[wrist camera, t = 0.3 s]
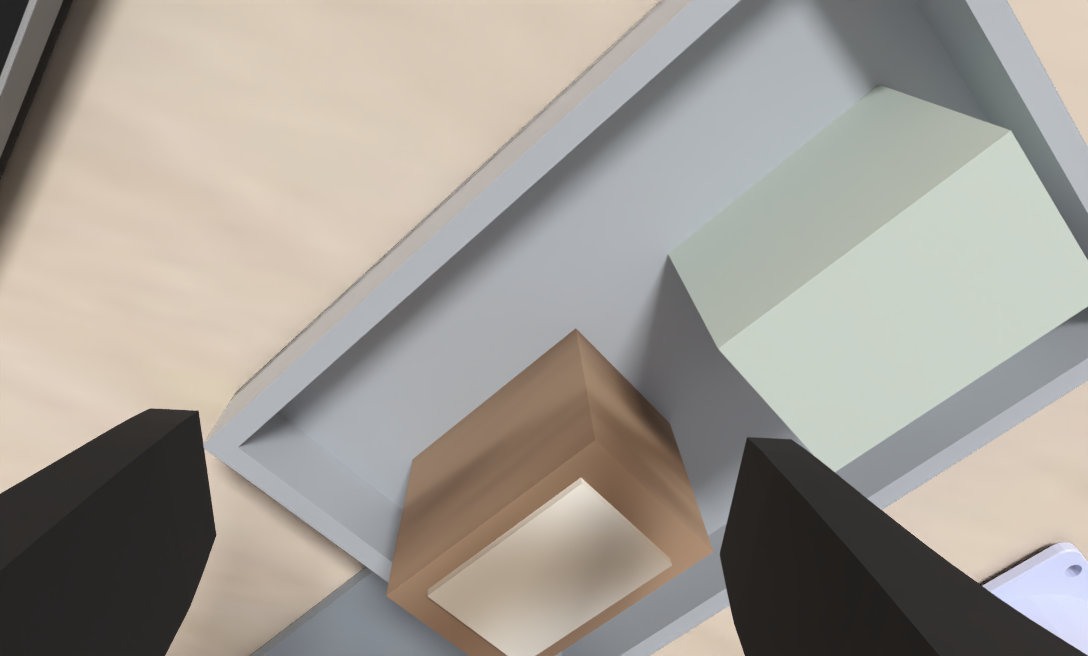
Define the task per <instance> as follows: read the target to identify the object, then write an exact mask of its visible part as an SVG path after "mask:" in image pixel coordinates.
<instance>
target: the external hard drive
mask: <svg viewBox="0 0 1088 656" xmlns="http://www.w3.org/2000/svg"><path fill="white" fill-rule="evenodd" d="M71 3H72V0H0V179H1V176H2V174H3V171H4V169H5V166H6V164H7V161H8V159H9V156H10V154H11V151H12V149H13V147H14V144H15V142H16V139H17V137H18V134H19V132H20V129H21V127H22V124H23V122H24V119H25V117H26V114H27V112H28V109H29V107H30V104H31V102H32V99H33V97H34V95H35V92H36V90H37V87H38V85H39V82H40V80H41V77H42V75H43V72H44V70H45V67H46V65H47V62H48V60H49V57H50V55H51V52H52V50H53V47H54V45H55V42H56V40H57V38H58V35H59V33H60V30H61V28H62V25H63V23H64V20H65V18H66V15H67V13H68V10H69V8H70V5H71Z"/></svg>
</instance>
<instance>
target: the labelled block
mask: <svg viewBox="0 0 1088 656" xmlns="http://www.w3.org/2000/svg"><path fill="white" fill-rule="evenodd" d="M711 553H713V549H712V546H711V543H710V540H709V537H708V534H707V531H706V528H705V525H704V522H703V519H702V516H701V513H700V510H699V507H698V504H697V502H696V499H695V496H694V493H693V490H692V487H691V484H690V481H689V478H688V475H687V472H686V469H685V466H684V463H683V460H682V457H681V454H680V452H679V449H678V446H677V443H676V440H675V437H674V434H673V431H672V428H671V425H670V423H669V422H668V421H667V420H666V419H665V418H664V417H663V416H662V415H661V414H660V413H659V412H658V411H657V410H656V409H655V408H654V407H653V406H652V405H651V404H650V403H649V402H648V401H647V400H646V399H645V398H644V397H643V396H642V395H641V394H640V393H639V392H638V391H637V390H636V389H635V387H634V386H633V385H632V384H631V383H630V382H629V381H628V380H627V379H626V378H625V377H624V376H623V375H622V374H621V373H620V372H619V371H618V370H617V369H616V368H615V367H614V366H613V365H612V364H611V363H610V362H609V361H608V360H607V359H606V358H605V357H604V356H603V355H602V354H601V353H600V352H599V351H598V350H597V349H596V348H595V347H594V346H593V345H592V344H591V343H590V342H589V341H588V340H587V339H586V338H585V337H584V336H583V335H582V334H581V333H580V332H579V331H578V330H577V329H576V328H575V329H574V330H573V331H572V332H570V333H569V334H568V335H567V336H565V337H564V338H563V339H562V340H560V341H559V342H558V343H557V344H555V345H554V346H553V347H552V348H550V349H549V350H548V351H547V352H545V353H544V354H543V355H542V356H540V357H539V358H538V359H537V360H536V361H534V362H533V363H532V364H531V365H529V366H528V367H527V368H526V369H524V370H523V371H522V372H521V373H519V374H518V375H517V376H516V377H514V378H513V379H512V380H511V381H509V382H508V383H507V384H506V385H504V386H503V387H502V388H501V389H499V390H498V391H497V392H496V393H494V394H493V395H492V396H491V397H489V398H488V399H487V400H486V401H485V402H483V403H482V404H481V405H480V406H478V407H477V408H476V409H475V410H473V411H472V412H471V413H470V414H468V415H467V416H466V417H465V418H463V419H462V420H461V421H460V422H458V423H457V424H456V425H455V426H453V427H452V428H451V429H450V430H448V431H447V432H446V433H445V434H443V435H442V436H441V437H440V438H438V439H437V440H436V441H435V442H434V443H432V444H431V445H430V446H429V447H427V448H426V449H425V450H424V451H422V452H421V453H420V454H419V455H417V456H416V457H415V458H414V459H413V460H412V465H411V471H410V476H409V481H408V486H407V491H406V496H405V501H404V506H403V511H402V516H401V522H400V527H399V532H398V537H397V542H396V547H395V552H394V557H393V562H392V567H391V573H390V578H389V583H388V588H387V593H386V596H387V597H388V598H390V599H391V600H392V601H394V602H395V603H397V604H398V605H399V606H401V607H402V608H403V609H405V610H406V611H408V612H409V613H410V614H412V615H413V616H415V617H416V618H417V619H419V620H420V621H422V622H423V623H424V624H426V625H427V626H428V627H430V628H431V629H433V630H434V631H435V632H437V633H438V634H440V635H441V636H442V637H444V638H445V639H447V640H448V641H449V642H451V643H452V644H453V645H455V646H456V647H458V648H459V649H460V650H462V651H463V652H465V653H466V654H467V655H469V656H556V655H557V654H559V653H560V652H562V651H563V650H565V649H566V648H568V647H569V646H571V645H572V644H574V643H575V642H577V641H578V640H580V639H582V638H583V637H585V636H586V635H588V634H589V633H591V632H592V631H594V630H595V629H597V628H598V627H600V626H601V625H603V624H604V623H606V622H607V621H609V620H610V619H612V618H614V617H615V616H617V615H618V614H620V613H621V612H623V611H624V610H626V609H627V608H629V607H630V606H632V605H633V604H635V603H636V602H638V601H639V600H641V599H642V598H644V597H646V596H647V595H649V594H650V593H652V592H653V591H655V590H656V589H658V588H659V587H661V586H662V585H664V584H665V583H667V582H668V581H670V580H671V579H673V578H675V577H676V576H678V575H679V574H681V573H682V572H684V571H685V570H687V569H688V568H690V567H691V566H693V565H694V564H696V563H697V562H699V561H700V560H702V559H703V558H705V557H707V556H708V555H710V554H711Z"/></svg>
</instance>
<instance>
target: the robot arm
mask: <svg viewBox="0 0 1088 656" xmlns="http://www.w3.org/2000/svg"><path fill="white" fill-rule="evenodd" d="M215 537H216V530H215V523H214V516H213V509H212V502H211V495H210V488H209V481H208V474H207V467H206V460H205V453H204V446H203V439H202V432H201V425H200V418H199V411H190V410H169V409H148V410H146V411H144V412H142V413H140V414H138V415H136V416H134V417H132V418H130V419H128V420H126V421H125V422H123V423H121V424H119V425H117V426H116V427H114V428H112V429H110V430H109V431H107V432H105V433H104V434H102V435H100V436H98V437H97V438H95V439H93V440H92V441H90V442H88V443H86V444H85V445H83V446H81V447H80V448H78V449H76V450H75V451H73V452H71V453H69V454H68V455H66V456H64V457H63V458H61V459H59V460H58V461H56V462H54V463H52V464H51V465H49V466H47V467H46V468H44V469H42V470H40V471H39V472H37V473H35V474H34V475H32V476H30V477H28V478H27V479H25V480H23V481H22V482H20V483H18V484H16V485H15V486H13V487H11V488H9V489H8V490H6V491H4V492H3V493H1V494H0V656H165V655H166V653H167V651H168V649H169V647H170V645H171V643H172V641H173V639H174V637H175V635H176V633H177V631H178V629H179V628H180V626H181V624H182V622H183V620H184V618H185V616H186V614H187V612H188V610H189V608H190V606H191V603H192V600H193V598H194V595H195V593H196V590H197V587H198V585H199V582H200V580H201V577H202V574H203V571H204V569H205V566H206V563H207V560H208V557H209V554H210V552H211V549H212V546H213V543H214V540H215ZM720 559H721V564H722V569H723V574H724V579H725V584H726V589H727V594H728V599H729V603H730V607H731V612H732V616H733V620H734V624H735V627H736V630H737V633H738V636H739V639H740V642H741V645H742V648H743V651H744V654H745V656H1088V562H1087V560H1086V559H1085V558H1084V556H1083V555H1082V554H1081V552H1080V551H1079V550H1078V549H1077V548H1076V547H1075V546H1074V545H1072V544H1071V543H1067V542H1062V543H1057V544H1054V545H1052V546H1050V547H1049V548H1047V549H1045V550H1043V551H1042V552H1040V553H1038V554H1036V555H1035V556H1033V557H1031V558H1029V559H1028V560H1026V561H1024V562H1022V563H1021V564H1019V565H1017V566H1015V567H1014V568H1012V569H1010V570H1008V571H1007V572H1005V573H1003V574H1001V575H1000V576H998V577H996V578H994V579H993V580H991V581H989V582H987V583H986V584H984V585H982V586H981V585H980V584H979V583H977V582H976V581H974V580H973V579H972V578H970V577H969V576H967V575H966V574H965V573H963V572H962V571H960V570H959V569H958V568H956V567H955V566H953V565H952V564H951V563H949V562H948V561H947V560H945V559H944V558H943V557H941V556H940V555H939V554H937V553H936V552H935V551H933V550H932V549H931V548H929V547H928V546H927V545H925V544H924V543H923V542H921V541H920V540H919V539H918V538H916V537H915V536H914V535H912V534H911V533H910V532H909V531H907V530H906V529H905V528H903V527H902V526H901V525H900V524H898V523H897V522H896V521H895V520H893V519H892V518H891V517H889V516H888V515H887V514H886V513H884V512H883V511H882V510H881V509H880V508H878V507H877V506H876V505H875V504H873V503H872V502H871V501H870V500H868V499H867V498H866V497H865V496H863V495H862V494H861V493H860V492H858V491H857V490H856V489H855V488H854V487H852V486H851V485H850V484H849V483H847V482H846V481H845V480H844V479H842V478H841V477H840V476H839V475H838V474H836V473H835V472H834V471H833V470H831V469H830V468H829V467H828V466H826V465H825V464H824V463H823V462H821V461H820V460H819V459H818V458H816V457H815V456H814V455H812V454H811V453H810V452H808V451H807V450H806V449H804V448H803V447H802V446H800V445H799V444H798V443H796V442H795V441H793V440H792V439H778V438H757V437H747V439H746V443H745V447H744V452H743V456H742V460H741V464H740V469H739V473H738V477H737V482H736V486H735V490H734V494H733V499H732V503H731V507H730V511H729V516H728V520H727V524H726V528H725V533H724V537H723V541H722V545H721V550H720Z"/></svg>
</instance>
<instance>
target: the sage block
mask: <svg viewBox="0 0 1088 656" xmlns="http://www.w3.org/2000/svg"><path fill="white" fill-rule="evenodd" d="M668 255H669V257H670V259H671V261H672V262H673V264H674V266H675V268H676V270H677V272H678V274H679V276H680V278H681V279H682V281H683V283H684V285H685V287H686V289H687V291H688V293H689V295H690V297H691V298H692V300H693V302H694V304H695V306H696V308H697V310H698V312H699V314H700V315H701V317H702V319H703V321H704V323H705V325H706V327H707V329H708V331H709V333H710V334H711V336H712V338H713V340H714V342H715V344H716V346H717V348H718V349H719V350H720V351H721V353H722V354H723V355H724V356H725V357H726V358H727V359H728V360H729V361H730V363H731V364H732V365H733V366H734V367H735V368H736V369H737V370H738V371H739V373H740V374H741V375H742V376H743V377H744V378H745V379H746V380H747V382H748V383H749V384H750V385H751V386H752V387H753V388H754V389H755V390H756V392H757V393H758V394H759V395H760V396H761V397H762V398H763V399H764V400H765V402H766V403H767V404H768V405H769V406H770V407H771V408H772V409H773V410H774V412H775V413H776V414H777V415H778V416H779V417H780V418H781V419H782V420H783V422H784V423H785V424H786V425H787V426H788V427H789V428H790V429H791V430H792V432H793V433H794V434H795V435H796V436H797V437H798V438H799V439H800V441H801V442H802V443H803V444H804V445H805V446H806V447H807V448H808V449H809V451H810V452H811V453H812V454H813V455H814V456H815V457H816V458H818V459H819V460H820V461H821V462H823V463H824V464H825V465H826V466H828V467H829V468H830V469H831V470H833V471H834V472H836V471H838V470H839V469H841V468H842V467H844V466H845V465H847V464H848V463H850V462H851V461H853V460H854V459H856V458H857V457H859V456H861V455H862V454H864V453H865V452H867V451H868V450H870V449H871V448H873V447H874V446H876V445H877V444H879V443H880V442H882V441H883V440H885V439H886V438H888V437H889V436H891V435H893V434H894V433H896V432H897V431H899V430H900V429H902V428H903V427H905V426H906V425H908V424H909V423H911V422H912V421H914V420H915V419H917V418H918V417H920V416H921V415H923V414H925V413H926V412H928V411H929V410H931V409H932V408H934V407H935V406H937V405H938V404H940V403H941V402H943V401H944V400H946V399H947V398H949V397H950V396H952V395H954V394H955V393H957V392H958V391H960V390H961V389H963V388H964V387H966V386H967V385H969V384H970V383H972V382H973V381H975V380H976V379H978V378H979V377H981V376H982V375H984V374H986V373H987V372H989V371H990V370H992V369H993V368H995V367H996V366H998V365H999V364H1001V363H1002V362H1004V361H1005V360H1007V359H1008V358H1010V357H1011V356H1013V355H1014V354H1016V353H1018V352H1019V351H1021V350H1022V349H1024V348H1025V347H1027V346H1028V345H1030V344H1031V343H1033V342H1034V341H1036V340H1037V339H1039V338H1040V337H1042V336H1043V335H1045V334H1047V333H1048V332H1050V331H1051V330H1053V329H1054V328H1056V327H1057V326H1059V325H1060V324H1062V323H1063V322H1065V321H1066V320H1068V319H1069V318H1071V317H1072V316H1074V315H1075V314H1077V313H1079V312H1080V311H1082V310H1083V309H1085V308H1086V307H1088V260H1087V258H1086V256H1085V255H1084V253H1083V251H1082V250H1081V248H1080V246H1079V245H1078V243H1077V241H1076V240H1075V238H1074V236H1073V235H1072V233H1071V231H1070V229H1069V228H1068V226H1067V224H1066V223H1065V221H1064V219H1063V218H1062V216H1061V214H1060V213H1059V211H1058V209H1057V207H1056V206H1055V204H1054V202H1053V201H1052V199H1051V197H1050V196H1049V194H1048V192H1047V191H1046V189H1045V187H1044V186H1043V184H1042V182H1041V180H1040V179H1039V177H1038V175H1037V174H1036V172H1035V170H1034V169H1033V167H1032V165H1031V164H1030V162H1029V160H1028V158H1027V157H1026V155H1025V153H1024V152H1023V150H1022V148H1021V147H1020V145H1019V143H1018V142H1017V140H1016V138H1015V136H1014V135H1013V133H1012V131H1011V130H1008V129H1005V128H1002V127H999V126H996V125H993V124H991V123H988V122H985V121H982V120H979V119H976V118H973V117H970V116H968V115H965V114H962V113H959V112H956V111H953V110H950V109H947V108H945V107H942V106H939V105H936V104H933V103H930V102H927V101H924V100H922V99H919V98H916V97H913V96H910V95H907V94H904V93H902V92H899V91H896V90H893V89H890V88H887V87H884V86H881V85H878V86H876V87H875V88H874V89H873V90H871V91H870V92H869V93H868V94H866V95H865V96H864V97H863V98H861V99H860V100H859V101H858V102H856V103H855V104H854V105H853V106H851V107H850V108H849V109H848V110H846V111H845V112H844V113H843V114H841V115H840V116H839V117H838V118H837V119H835V120H834V121H833V122H832V123H830V124H829V125H828V126H827V127H825V128H824V129H823V130H822V131H820V132H819V133H818V134H817V135H815V136H814V137H813V138H812V139H810V140H809V141H808V142H807V143H805V144H804V145H803V146H802V147H800V148H799V149H798V150H797V151H795V152H794V153H793V154H792V155H790V156H789V157H788V158H787V159H786V160H784V161H783V162H782V163H781V164H779V165H778V166H777V167H776V168H774V169H773V170H772V171H771V172H769V173H768V174H767V175H766V176H764V177H763V178H762V179H761V180H759V181H758V182H757V183H756V184H754V185H753V186H752V187H751V188H749V189H748V190H747V191H746V192H744V193H743V194H742V195H741V196H739V197H738V198H737V199H736V200H735V201H733V202H732V203H731V204H730V205H728V206H727V207H726V208H725V209H723V210H722V211H721V212H720V213H718V214H717V215H716V216H715V217H713V218H712V219H711V220H710V221H708V222H707V223H706V224H705V225H703V226H702V227H701V228H700V229H698V230H697V231H696V232H695V233H693V234H692V235H691V236H690V237H688V238H687V239H686V240H685V241H684V242H682V243H681V244H680V245H679V246H677V247H676V248H675V249H674V250H672V251H671V252H670V253H669V254H668Z"/></svg>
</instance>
